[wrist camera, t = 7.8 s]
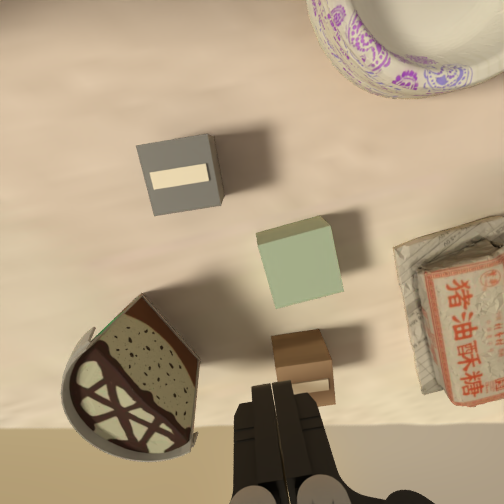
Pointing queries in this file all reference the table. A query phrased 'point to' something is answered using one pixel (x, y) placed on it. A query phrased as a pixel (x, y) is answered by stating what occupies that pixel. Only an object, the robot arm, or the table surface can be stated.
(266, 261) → the plain sage block
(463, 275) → the packaged product
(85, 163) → the table surface
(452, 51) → the paper bowls
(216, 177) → the charcoal striped block
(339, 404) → the table surface
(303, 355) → the walnut striped block
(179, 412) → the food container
